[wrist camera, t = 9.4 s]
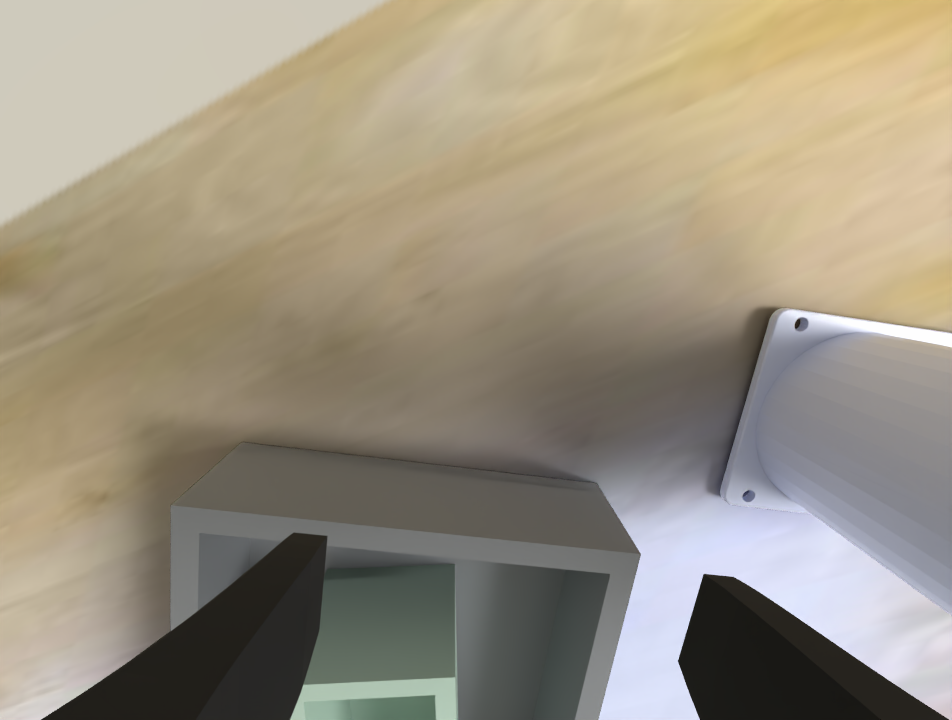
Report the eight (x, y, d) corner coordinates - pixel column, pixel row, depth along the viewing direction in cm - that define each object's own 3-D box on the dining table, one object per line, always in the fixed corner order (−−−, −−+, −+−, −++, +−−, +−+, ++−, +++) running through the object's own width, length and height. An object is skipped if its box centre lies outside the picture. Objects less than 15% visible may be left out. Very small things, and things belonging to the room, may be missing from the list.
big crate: (596, 483, 19) (640, 553, 14) (521, 816, 22) (538, 952, 18) (241, 442, 17) (171, 505, 13) (227, 799, 21) (169, 940, 17)
